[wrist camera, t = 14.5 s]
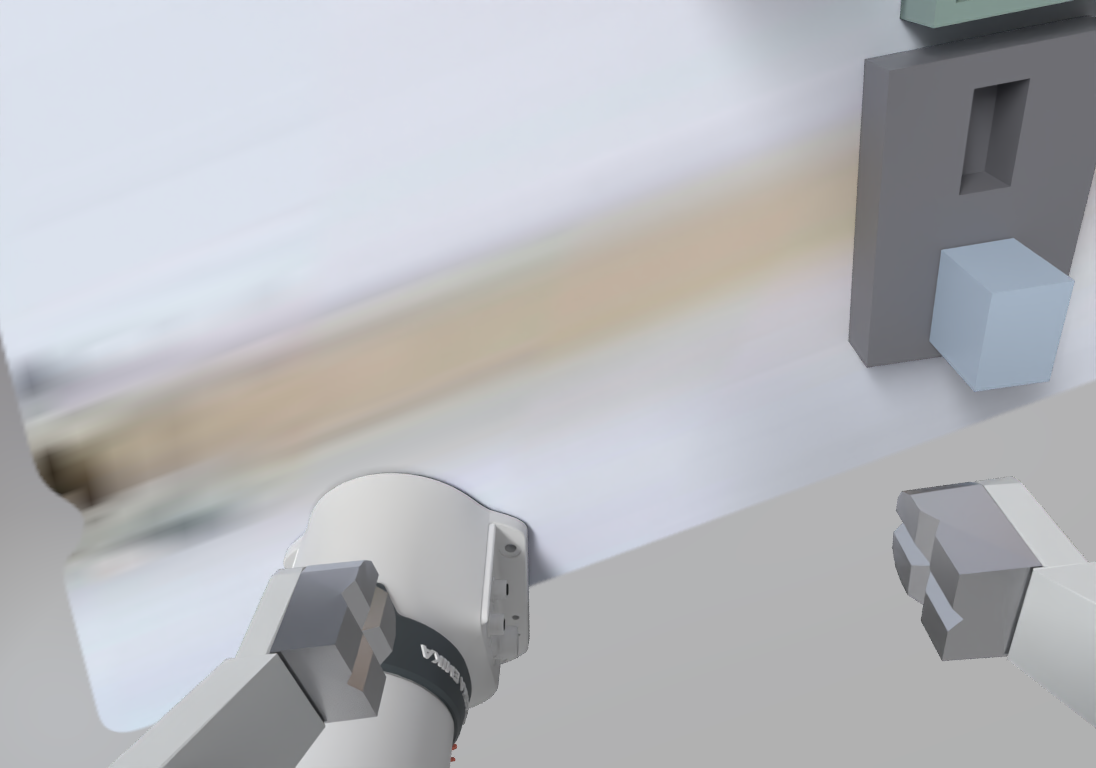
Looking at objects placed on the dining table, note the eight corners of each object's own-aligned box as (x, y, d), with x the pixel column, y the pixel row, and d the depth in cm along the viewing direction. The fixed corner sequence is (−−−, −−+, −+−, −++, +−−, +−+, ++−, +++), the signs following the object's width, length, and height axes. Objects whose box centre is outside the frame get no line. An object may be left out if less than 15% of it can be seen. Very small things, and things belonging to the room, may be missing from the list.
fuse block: (1022, 314, 41) (1052, 340, 38) (848, 340, 42) (866, 367, 40) (1086, 15, 32) (1130, 23, 30) (864, 59, 33) (889, 70, 31)
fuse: (972, 308, 40) (1049, 381, 34) (909, 318, 41) (974, 391, 34) (987, 219, 37) (1074, 280, 31) (919, 230, 38) (992, 293, 31)
